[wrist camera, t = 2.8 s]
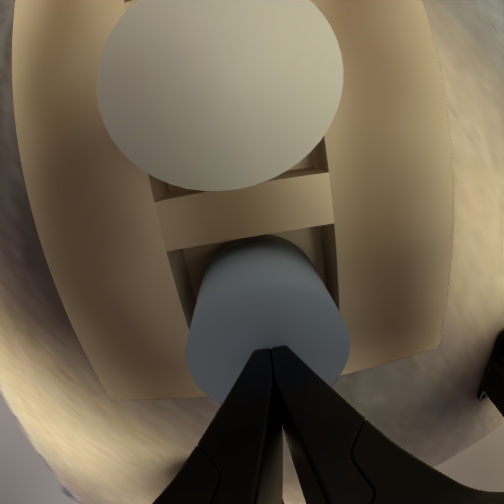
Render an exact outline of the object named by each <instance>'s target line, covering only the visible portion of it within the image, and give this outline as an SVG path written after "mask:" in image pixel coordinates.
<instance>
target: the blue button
mask: <svg viewBox="0 0 504 504" xmlns="http://www.w3.org/2000/svg"><path fill="white" fill-rule="evenodd" d="M283 345H286V346H288V347H289V348H290V349H291V350H292V351H293V352H294V353H295V354H296V355H297V356H298V357H300V358H301V359H302V360H303V361H304V362H305V363H306V364H307V365H308V366H309V367H310V368H311V369H312V370H313V371H314V372H315V373H316V374H317V375H318V376H320V377H321V378H322V379H323V380H324V381H325V382H326V383H327V384H328V385H329V386H330V387H331V386H332V385H333V384H334V383H335V382H336V380H337V379H338V378H339V376H340V375H341V373H342V372H343V370H344V368H345V366H346V363H347V361H348V357H349V353H350V336H349V332H348V328H347V326H346V323H345V321H344V319H343V317H342V316H341V314H340V312H339V310H338V308H337V307H336V305H335V303H334V301H333V299H332V298H331V296H330V294H329V292H328V290H327V289H326V287H325V285H324V283H323V282H322V280H321V278H320V276H319V275H318V273H317V271H316V269H315V268H314V266H313V264H312V262H311V261H310V259H309V258H308V256H307V255H306V254H305V253H304V252H303V250H302V249H300V248H299V247H298V246H297V245H295V244H294V243H292V242H291V241H289V240H286V239H284V238H282V237H278V236H275V235H268V234H265V235H259V236H253V237H247V238H241V239H235V240H233V241H231V242H229V243H227V244H226V245H225V246H223V247H222V248H221V249H220V250H218V251H217V252H216V253H215V255H214V256H213V257H212V258H211V260H210V261H209V263H208V265H207V267H206V269H205V271H204V275H203V279H202V282H201V286H200V290H199V294H198V298H197V302H196V306H195V310H194V314H193V318H192V323H191V327H190V331H189V335H188V339H187V344H186V352H185V356H186V364H187V367H188V371H189V373H190V375H191V377H192V379H193V380H194V382H195V383H196V385H197V386H198V387H199V388H200V389H201V390H202V392H204V393H205V394H206V395H207V396H208V397H210V398H211V399H213V400H214V401H216V402H218V403H220V404H222V403H223V402H224V400H225V398H226V397H227V395H228V393H229V392H230V390H231V388H232V387H233V385H234V383H235V382H236V380H237V378H238V376H239V375H240V373H241V371H242V370H243V368H244V366H245V364H246V363H247V361H248V359H249V357H250V356H251V354H252V352H253V351H254V350H258V349H265V348H269V349H270V351H271V348H272V347H277V346H283Z"/></svg>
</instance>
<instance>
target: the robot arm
mask: <svg viewBox="0 0 504 504" xmlns="http://www.w3.org/2000/svg"><path fill="white" fill-rule="evenodd" d="M488 397H489V398H490V400H491V401H492V402H493V404H494V405H495V406H496V407H497V409H498V410H499V411H500V413H501V414H502V416H503V417H504V331H503V332H502V333H501V334H500V335H499V337H498V339H497V342H496V345H495V348H494V351H493V354H492V357H491V360H490V363H489V366H488V369H487V371H486V374H485V377H484V379H483V382H482V385H481V387H480V389H479V392H478V394H477V399H478V400H479V401H483V400H484V399H486V398H488ZM281 419H282V420H281ZM282 425H283V429H282ZM283 430H284V433H285V437H286V440H287V443H288V447H289V450H290V453H291V456H292V460H293V463H294V466H295V469H296V472H297V476H298V479H299V482H300V485H301V488H302V491H303V495H304V498H305V501H306V504H504V492H487V491H481V490H477V489H473V488H470V487H467V486H465V485H462V484H460V483H458V482H457V481H455V480H453V479H451V478H449V477H448V476H446V475H444V474H442V473H441V472H439V471H437V470H436V469H434V468H432V467H431V466H429V465H427V464H426V463H424V462H423V461H421V460H419V459H418V458H416V457H414V456H413V455H411V454H410V453H408V452H407V451H405V450H404V449H402V448H401V447H400V446H398V445H397V444H395V443H394V442H392V441H391V440H390V439H389V438H388V437H386V436H385V435H384V434H383V433H381V432H380V431H379V430H378V429H377V428H375V427H374V426H373V425H372V424H371V423H370V422H369V421H368V420H365V418H364V417H363V416H362V415H361V414H360V413H359V412H357V411H356V410H355V409H354V408H353V407H352V406H351V405H350V404H349V403H348V402H346V401H345V400H344V399H343V398H342V397H341V396H340V395H339V394H338V393H337V392H336V391H335V390H333V389H332V388H331V387H330V386H329V385H328V384H327V383H326V382H325V381H324V380H323V379H322V378H321V377H320V376H318V375H317V374H316V373H315V372H314V371H313V370H312V369H311V368H310V367H309V366H308V365H307V364H306V363H305V362H304V361H303V360H302V359H301V358H300V357H298V356H297V355H296V354H295V353H294V352H293V351H292V350H291V349H290V348H289V347H288V346H286V345H283V346H277V347H272V348H271V351H270V349H269V348H265V349H258V350H254V351H253V352H252V354H251V356H250V357H249V359H248V361H247V363H246V364H245V366H244V368H243V370H242V371H241V373H240V375H239V376H238V378H237V380H236V382H235V383H234V385H233V387H232V388H231V390H230V392H229V393H228V395H227V397H226V398H225V400H224V402H223V403H222V405H221V407H220V408H219V410H218V412H217V413H216V415H215V417H214V418H213V420H212V422H211V423H210V425H209V426H208V428H207V430H206V431H205V433H204V435H203V436H202V438H201V439H200V441H199V443H198V446H196V447H195V449H194V450H193V452H192V453H191V455H190V457H189V458H188V460H187V461H186V462H185V464H184V465H183V467H182V468H181V470H180V471H179V472H178V474H177V475H176V476H175V478H174V479H173V480H172V481H171V483H170V484H169V485H168V486H167V487H166V489H165V490H164V491H163V492H162V493H161V494H160V495H159V497H158V498H157V499H156V500H155V501H154V502H153V503H152V504H282V485H283Z"/></svg>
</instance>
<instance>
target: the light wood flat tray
mask: <svg viewBox="0 0 504 504" xmlns="http://www.w3.org/2000/svg"><path fill="white" fill-rule="evenodd" d="M136 1H137V0H16V1H15V11H14V22H13V38H12V84H13V101H14V113H15V123H16V132H17V139H18V146H19V153H20V159H21V164H22V170H23V175H24V180H25V185H26V189H27V194H28V198H29V202H30V206H31V210H32V214H33V218H34V222H35V225H36V229H37V232H38V236H39V239H40V242H41V246H42V249H43V252H44V255H45V258H46V261H47V264H48V267H49V270H50V272H51V275H52V278H53V281H54V283H55V286H56V289H57V291H58V294H59V296H60V299H61V301H62V304H63V306H64V308H65V311H66V313H67V315H68V318H69V320H70V322H71V325H72V327H73V329H74V331H75V333H76V335H77V338H78V340H79V342H80V344H81V346H82V348H83V350H84V352H85V354H86V356H87V358H88V360H89V362H90V364H91V366H92V367H93V369H94V371H95V373H96V375H97V377H98V378H99V380H100V382H101V384H102V386H103V387H104V389H105V391H106V393H107V394H108V396H109V398H110V399H111V400H161V399H181V398H196V397H208V396H207V395H206V394H205V393H204V392H202V390H201V389H200V388H199V387H198V386H197V385H196V383H195V382H194V380H193V379H192V377H191V375H190V373H189V371H188V367H187V364H186V356H185V352H186V344H187V339H188V335H189V331H190V327H191V323H192V318H193V314H194V310H195V306H196V302H197V298H198V294H199V290H200V286H201V282H202V279H203V275H204V271H205V269H206V267H207V265H208V263H209V261H210V260H211V258H212V257H213V256H214V255H215V253H216V252H217V251H218V250H220V249H221V248H222V247H223V246H225V245H226V244H227V243H229V242H231V241H233V240H235V239H241V238H247V237H253V236H259V235H265V234H268V235H275V236H278V237H282V238H284V239H286V240H289V241H291V242H292V243H294V244H295V245H297V246H298V247H299V248H300V249H302V250H303V252H304V253H305V254H306V255H307V256H308V258H309V259H310V261H311V262H312V264H313V266H314V268H315V269H316V271H317V273H318V275H319V276H320V278H321V280H322V282H323V283H324V285H325V287H326V289H327V290H328V292H329V294H330V296H331V298H332V299H333V301H334V303H335V305H336V307H337V308H338V310H339V312H340V314H341V316H342V317H343V319H344V321H345V323H346V326H347V328H348V332H349V336H350V353H349V357H348V361H347V363H346V366H345V368H344V370H343V372H342V373H341V375H344V374H349V373H353V372H357V371H361V370H365V369H369V368H372V367H376V366H380V365H383V364H387V363H390V362H394V361H397V360H400V359H404V358H407V357H410V356H413V355H416V354H419V353H422V352H425V351H428V350H431V349H434V348H437V347H439V342H440V337H441V332H442V326H443V321H444V315H445V308H446V302H447V295H448V287H449V278H450V269H451V257H452V243H453V220H454V183H453V160H452V146H451V135H450V125H449V117H448V110H447V103H446V96H445V90H444V84H443V79H442V74H441V69H440V64H439V60H438V55H437V51H436V47H435V43H434V39H433V35H432V32H431V28H430V25H429V21H428V18H427V15H426V11H425V8H424V5H423V2H422V0H310V1H311V2H312V3H314V5H315V6H316V7H317V8H318V9H319V10H320V12H321V13H322V14H323V15H324V17H325V18H326V20H327V21H328V23H329V24H330V26H331V28H332V30H333V32H334V34H335V36H336V39H337V41H338V44H339V48H340V51H341V55H342V62H343V89H342V95H341V100H340V103H339V106H338V109H337V113H336V115H335V117H334V119H333V121H332V123H331V125H330V127H329V129H328V130H327V132H326V133H325V135H324V136H323V138H322V139H321V141H320V142H319V143H318V144H317V145H316V146H315V147H314V149H313V150H312V151H311V152H310V153H309V154H308V155H307V156H305V157H304V158H303V159H302V160H301V161H300V162H299V163H297V164H296V165H294V166H293V167H291V168H290V169H288V170H287V171H285V172H284V173H282V174H280V175H278V176H276V177H274V178H272V179H270V180H267V181H265V182H262V183H259V184H256V185H254V186H249V187H245V188H241V189H236V190H227V191H200V190H193V189H186V188H182V187H179V186H175V185H171V184H169V183H166V182H164V181H161V180H159V179H157V178H155V177H153V176H151V175H150V174H148V173H146V172H144V171H143V170H141V169H140V168H139V167H137V166H136V165H135V164H134V163H132V162H131V161H130V160H129V159H128V158H127V157H126V156H125V155H124V154H123V153H122V152H121V151H120V150H119V148H118V147H117V146H116V144H115V143H114V141H113V140H112V139H111V137H110V135H109V133H108V131H107V129H106V127H105V125H104V122H103V120H102V117H101V114H100V110H99V106H98V101H97V89H96V81H97V70H98V65H99V61H100V56H101V53H102V51H103V48H104V45H105V43H106V41H107V39H108V37H109V35H110V33H111V31H112V29H113V28H114V26H115V25H116V23H117V22H118V21H119V19H120V18H121V17H122V15H123V14H124V13H125V12H126V11H127V10H128V9H129V8H130V7H131V6H132V5H133V4H134V3H135V2H136Z"/></svg>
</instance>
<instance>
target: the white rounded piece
mask: <svg viewBox="0 0 504 504" xmlns="http://www.w3.org/2000/svg"><path fill="white" fill-rule="evenodd" d="M96 89H97V101H98V106H99V110H100V114H101V117H102V120H103V122H104V125H105V127H106V129H107V131H108V133H109V135H110V137H111V139H112V140H113V141H114V143H115V144H116V146H117V147H118V148H119V150H120V151H121V152H122V153H123V154H124V155H125V156H126V157H127V158H128V159H129V160H130V161H131V162H132V163H134V164H135V165H136V166H137V167H139V168H140V169H141V170H143V171H144V172H146V173H148V174H150V175H151V176H153V177H155V178H157V179H159V180H161V181H164V182H166V183H169V184H171V185H175V186H179V187H182V188H186V189H193V190H200V191H227V190H236V189H241V188H245V187H249V186H254V185H256V184H259V183H262V182H265V181H267V180H270V179H272V178H274V177H276V176H278V175H280V174H282V173H284V172H285V171H287V170H288V169H290V168H291V167H293V166H294V165H296V164H297V163H299V162H300V161H301V160H302V159H303V158H304V157H305V156H307V155H308V154H309V153H310V152H311V151H312V150H313V149H314V147H315V146H316V145H317V144H318V143H319V142H320V141H321V139H322V138H323V136H324V135H325V133H326V132H327V130H328V129H329V127H330V125H331V123H332V121H333V119H334V117H335V115H336V113H337V109H338V106H339V103H340V100H341V95H342V89H343V62H342V55H341V51H340V48H339V44H338V41H337V39H336V36H335V34H334V32H333V30H332V28H331V26H330V24H329V23H328V21H327V20H326V18H325V17H324V15H323V14H322V13H321V12H320V10H319V9H318V8H317V7H316V6H315V5H314V3H312V2H311V1H310V0H137V1H136V2H135V3H134V4H133V5H132V6H131V7H130V8H129V9H128V10H127V11H126V12H125V13H124V14H123V15H122V17H121V18H120V19H119V21H118V22H117V23H116V25H115V26H114V28H113V29H112V31H111V33H110V35H109V37H108V39H107V41H106V43H105V45H104V48H103V51H102V53H101V56H100V61H99V65H98V70H97V81H96Z"/></svg>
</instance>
